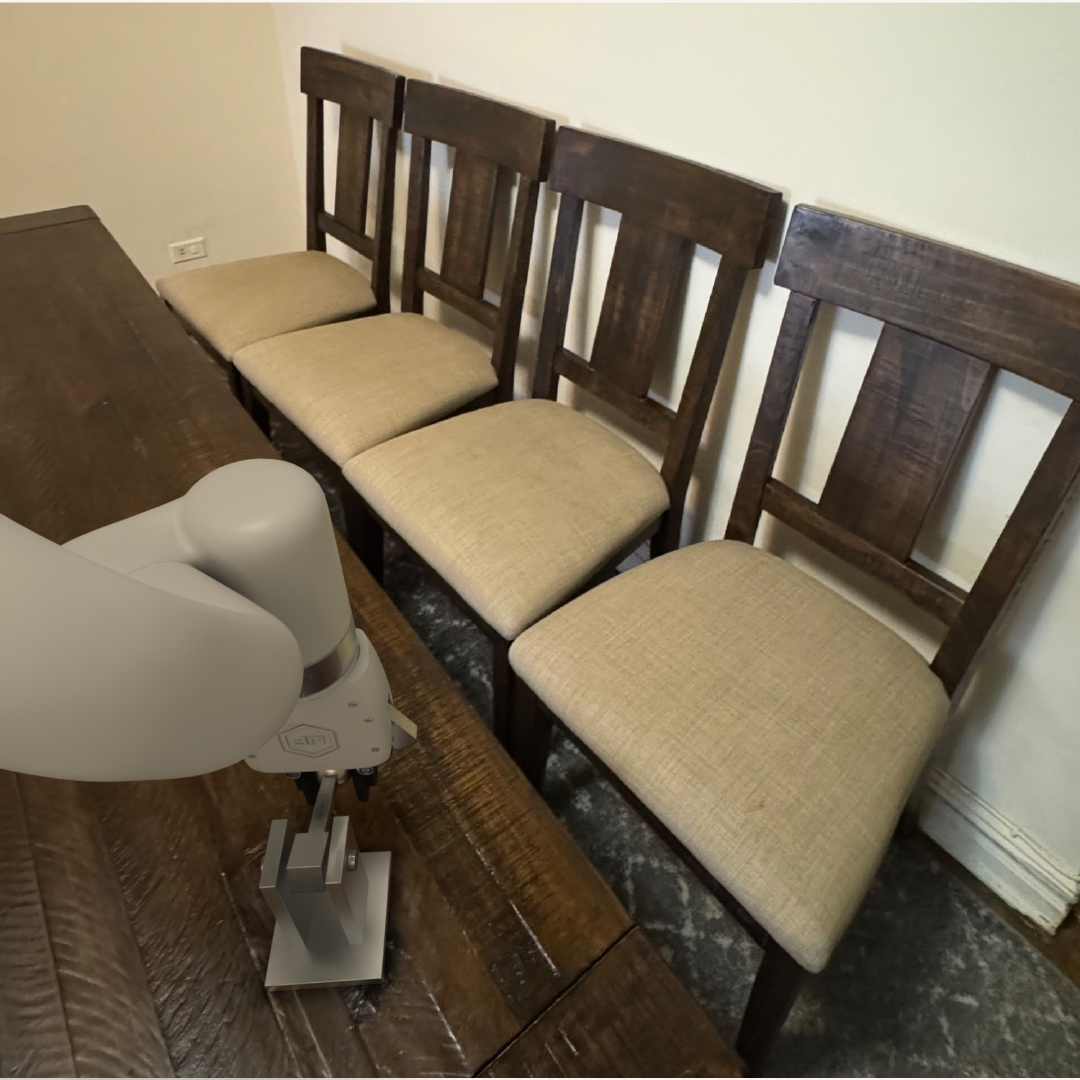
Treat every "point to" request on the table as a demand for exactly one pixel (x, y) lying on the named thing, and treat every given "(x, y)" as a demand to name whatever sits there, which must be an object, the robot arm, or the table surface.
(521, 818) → the table surface
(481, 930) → the table surface
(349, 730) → the robot arm
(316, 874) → the grey lever handle
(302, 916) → the faucet base
